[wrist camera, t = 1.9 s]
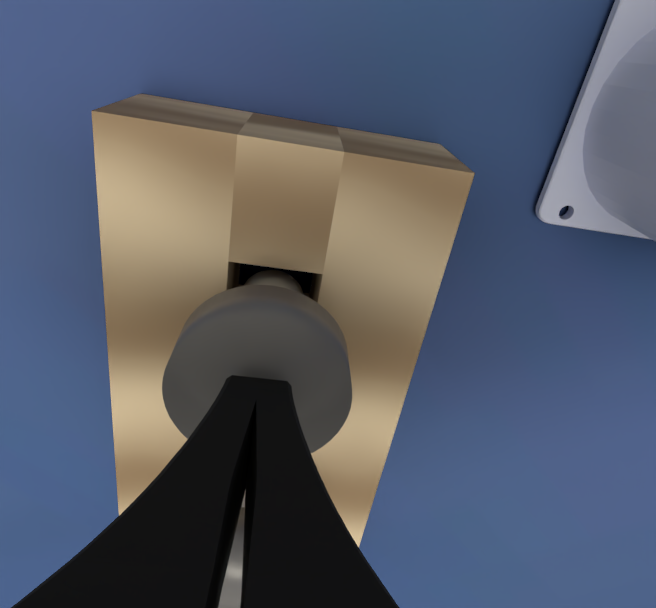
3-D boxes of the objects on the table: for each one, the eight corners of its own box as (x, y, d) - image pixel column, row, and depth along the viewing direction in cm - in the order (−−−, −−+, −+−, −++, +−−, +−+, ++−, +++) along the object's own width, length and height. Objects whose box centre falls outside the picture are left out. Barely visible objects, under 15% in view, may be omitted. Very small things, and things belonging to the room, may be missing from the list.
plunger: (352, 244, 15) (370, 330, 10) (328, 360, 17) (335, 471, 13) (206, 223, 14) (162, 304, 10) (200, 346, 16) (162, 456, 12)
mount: (140, 93, 15) (91, 110, 12) (440, 144, 17) (475, 173, 13) (150, 575, 28) (128, 652, 24) (321, 586, 29) (323, 661, 25)
